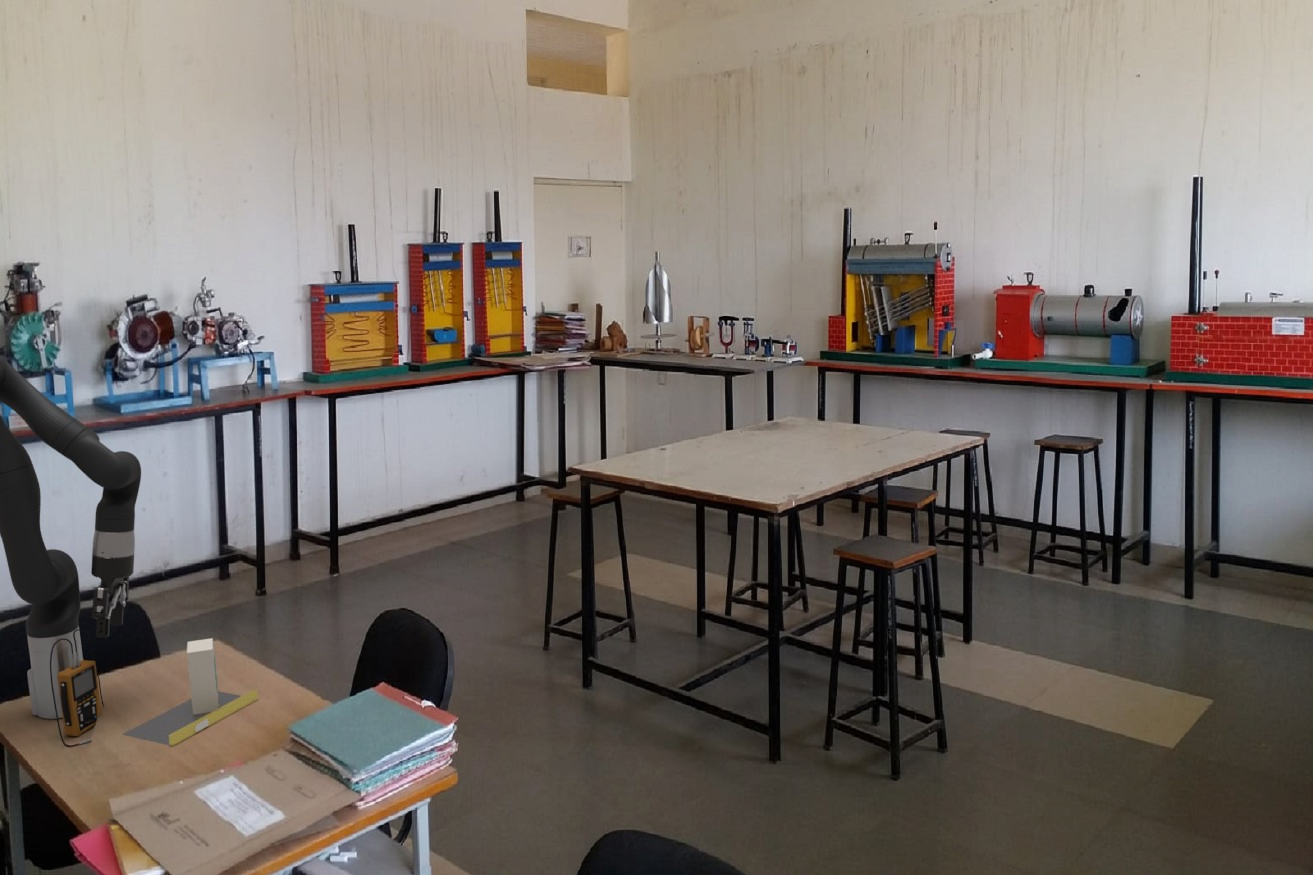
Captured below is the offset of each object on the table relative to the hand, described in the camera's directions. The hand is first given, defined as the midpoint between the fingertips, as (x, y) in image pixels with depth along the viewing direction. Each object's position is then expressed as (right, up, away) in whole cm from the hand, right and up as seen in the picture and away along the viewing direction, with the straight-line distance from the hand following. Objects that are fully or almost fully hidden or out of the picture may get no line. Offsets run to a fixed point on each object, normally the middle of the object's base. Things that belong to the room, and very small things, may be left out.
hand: (109, 631), depth 215 cm
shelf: (+18, -18, -2) cm, 25 cm away
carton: (+18, -16, +2) cm, 24 cm away
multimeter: (0, -19, -5) cm, 19 cm away
